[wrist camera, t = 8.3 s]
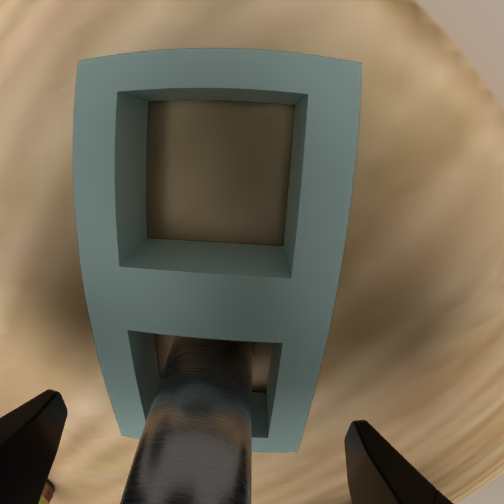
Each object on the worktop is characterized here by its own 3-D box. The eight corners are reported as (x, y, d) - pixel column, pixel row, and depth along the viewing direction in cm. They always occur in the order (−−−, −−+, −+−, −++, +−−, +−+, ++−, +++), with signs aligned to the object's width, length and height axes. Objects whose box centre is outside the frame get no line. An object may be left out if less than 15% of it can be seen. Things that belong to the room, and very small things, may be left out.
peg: (255, 317, 11) (255, 539, 4) (250, 379, 12) (246, 568, 5) (172, 311, 11) (94, 514, 4) (176, 373, 12) (129, 551, 5)
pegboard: (336, 80, 9) (362, 63, 6) (292, 408, 13) (297, 451, 11) (115, 75, 8) (78, 61, 6) (137, 395, 13) (121, 435, 11)
